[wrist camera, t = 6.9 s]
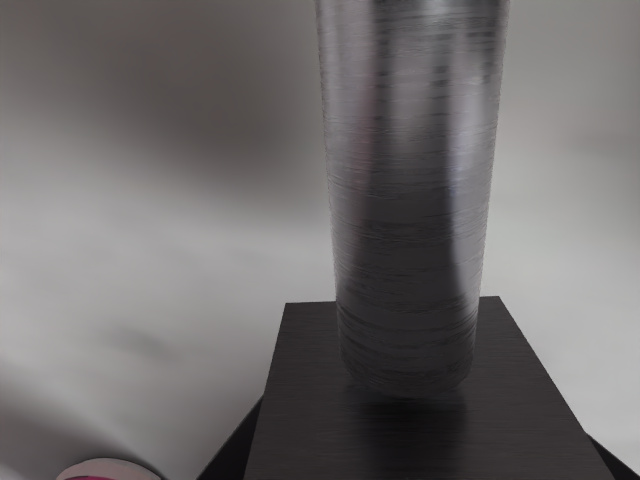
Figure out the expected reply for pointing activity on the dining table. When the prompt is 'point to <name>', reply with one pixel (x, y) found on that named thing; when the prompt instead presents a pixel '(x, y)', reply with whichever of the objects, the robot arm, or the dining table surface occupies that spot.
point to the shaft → (411, 272)
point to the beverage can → (107, 471)
